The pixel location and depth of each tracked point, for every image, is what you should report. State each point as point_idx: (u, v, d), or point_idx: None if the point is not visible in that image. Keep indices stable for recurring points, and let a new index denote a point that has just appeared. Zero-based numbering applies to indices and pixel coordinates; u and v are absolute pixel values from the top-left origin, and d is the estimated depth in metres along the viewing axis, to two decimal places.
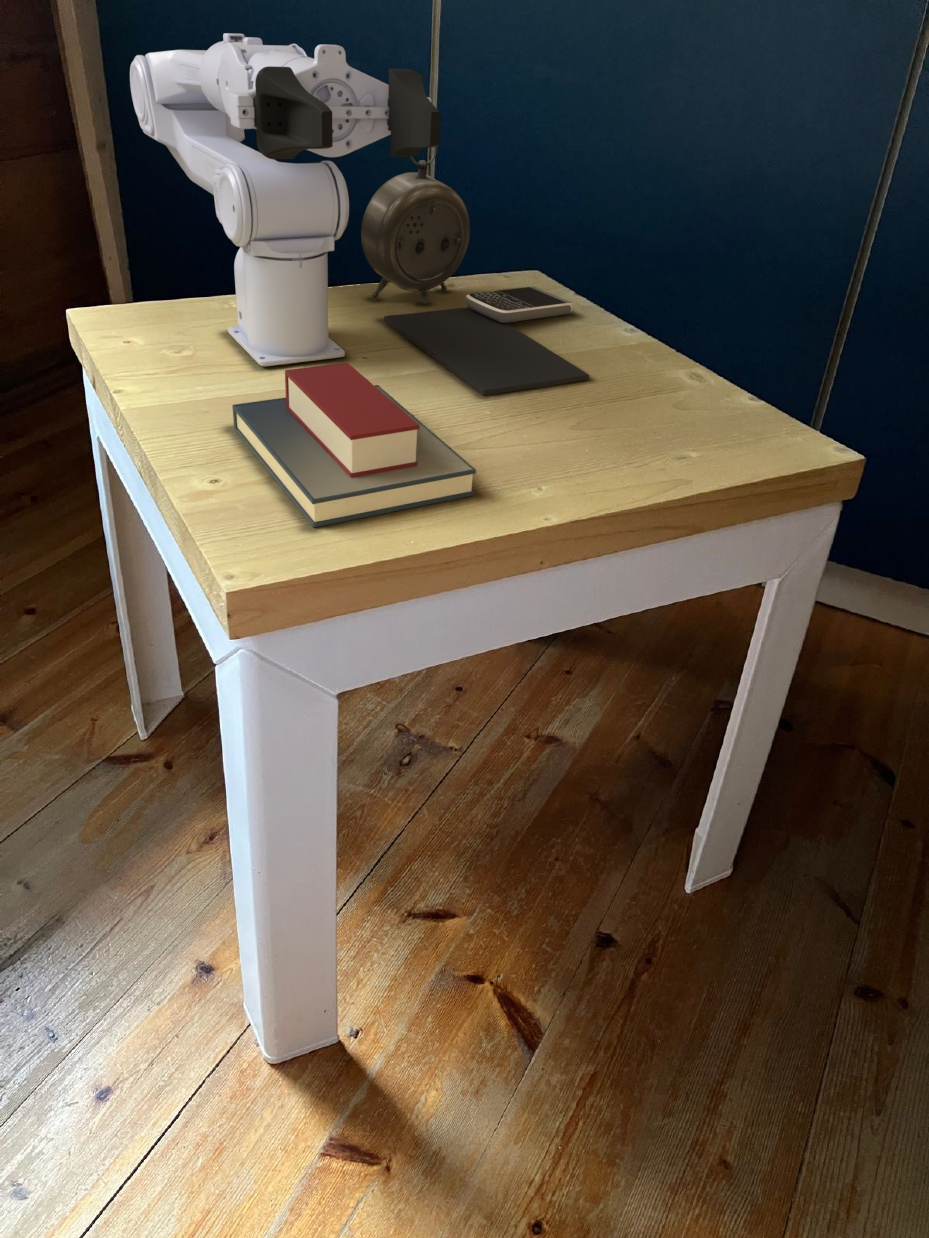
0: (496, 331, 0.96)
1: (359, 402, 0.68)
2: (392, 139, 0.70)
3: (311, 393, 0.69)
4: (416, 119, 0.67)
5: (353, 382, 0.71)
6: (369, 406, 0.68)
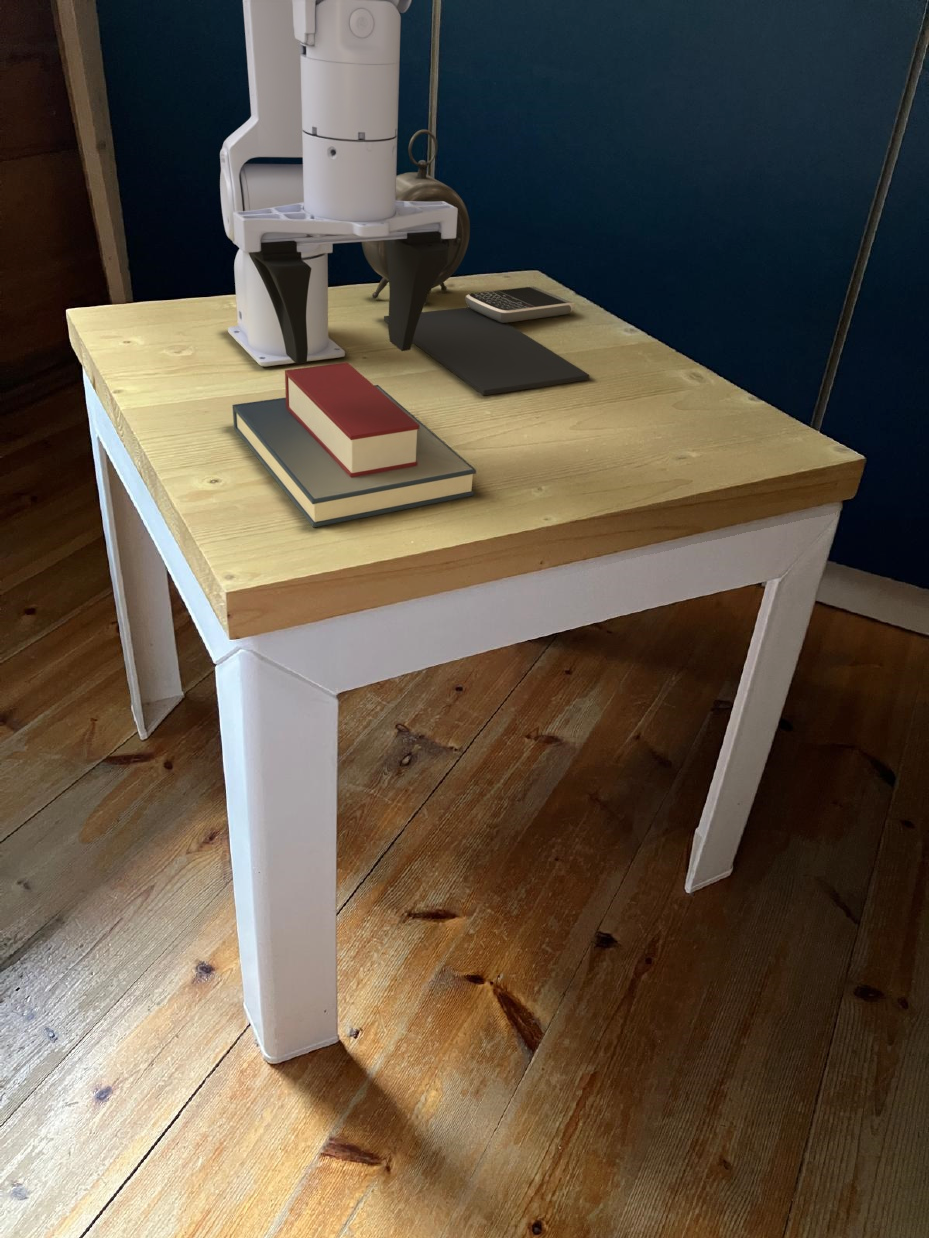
0: (496, 331, 0.96)
1: (359, 402, 0.68)
2: (391, 246, 0.66)
3: (311, 393, 0.69)
4: (400, 314, 0.67)
5: (353, 382, 0.71)
6: (369, 406, 0.68)
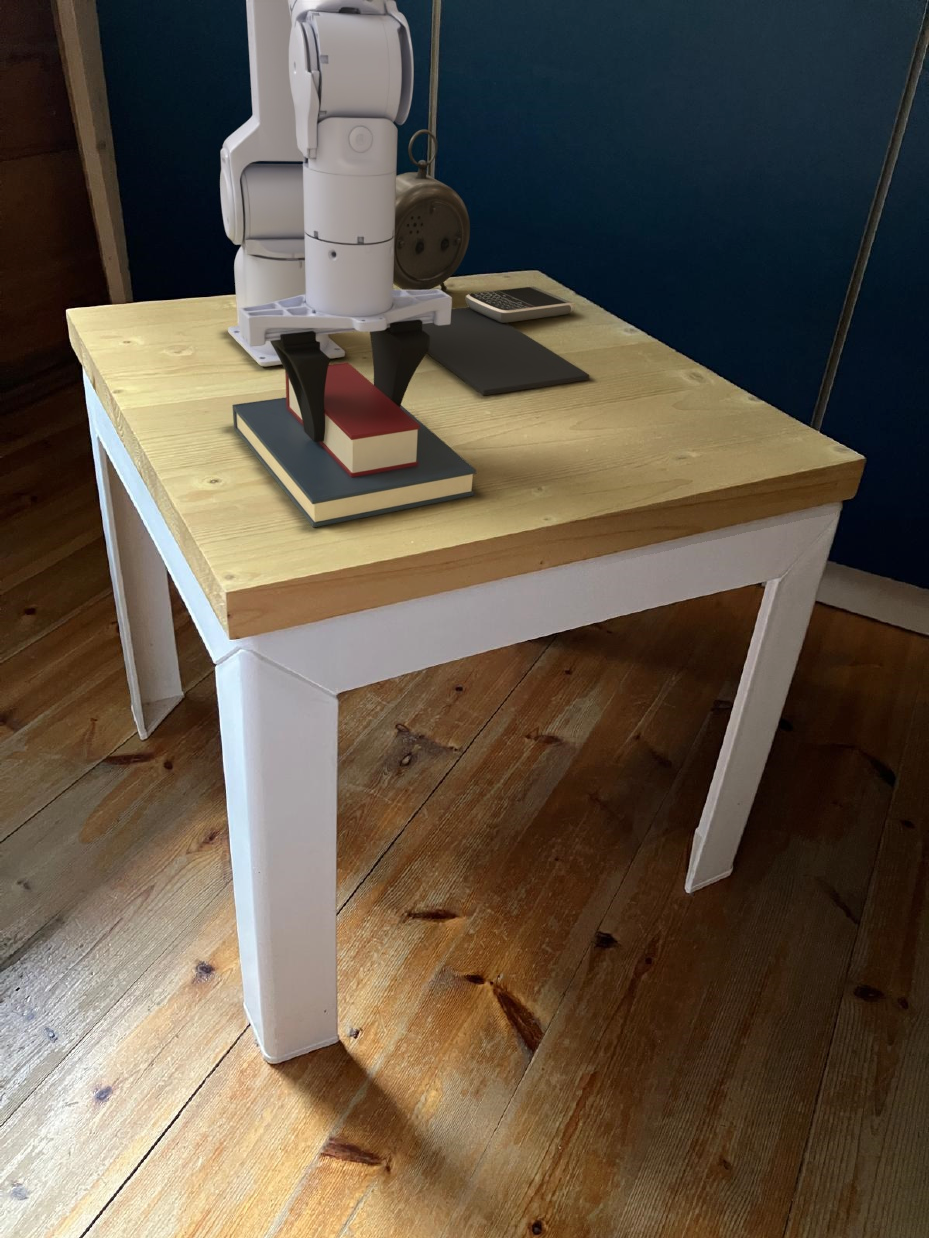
0: (496, 331, 0.96)
1: (359, 402, 0.68)
2: (375, 333, 0.69)
3: None
4: None
5: (353, 382, 0.71)
6: (370, 406, 0.68)
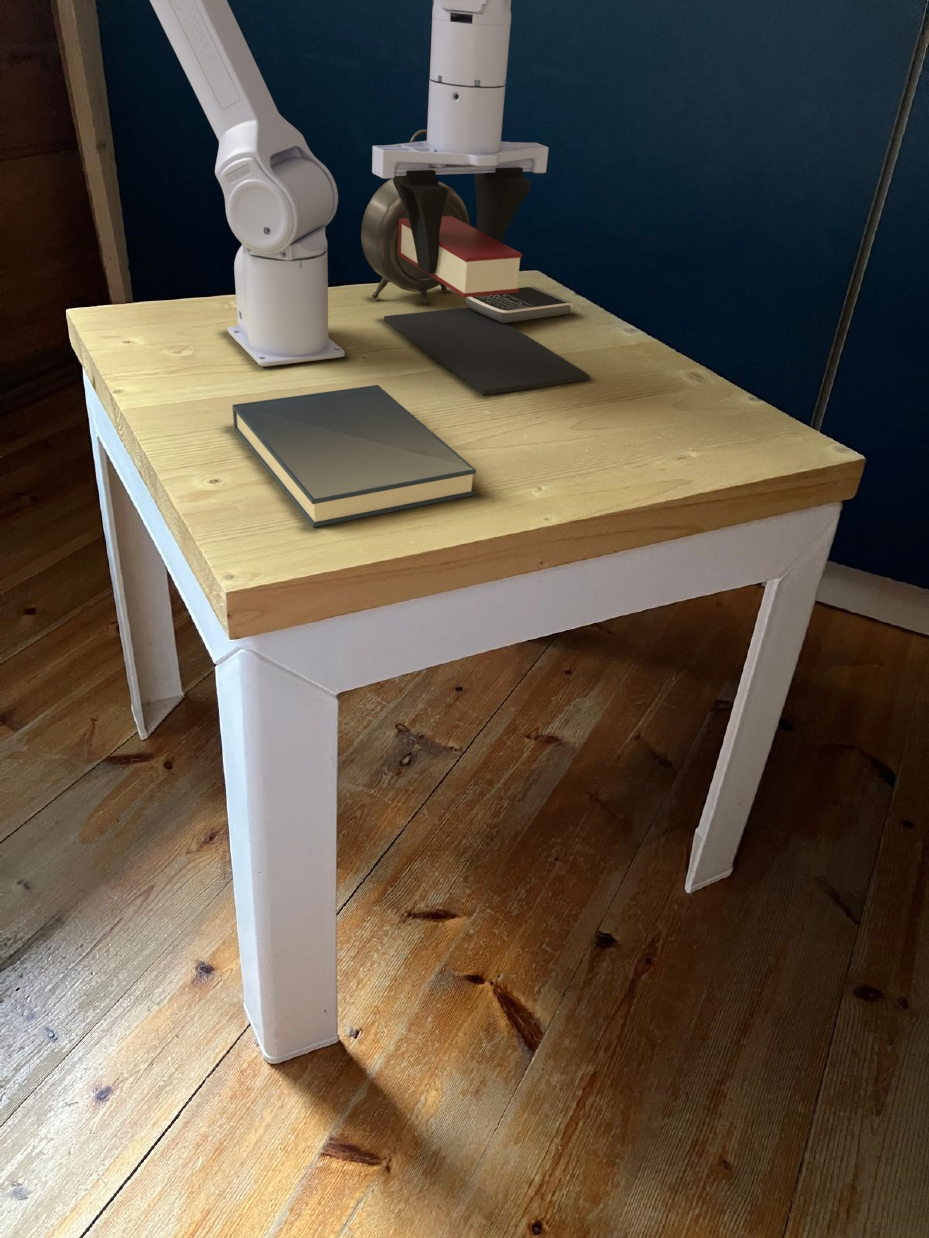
0: (496, 331, 0.96)
1: (468, 239, 0.79)
2: (480, 180, 0.80)
3: None
4: None
5: (459, 228, 0.82)
6: (477, 241, 0.78)
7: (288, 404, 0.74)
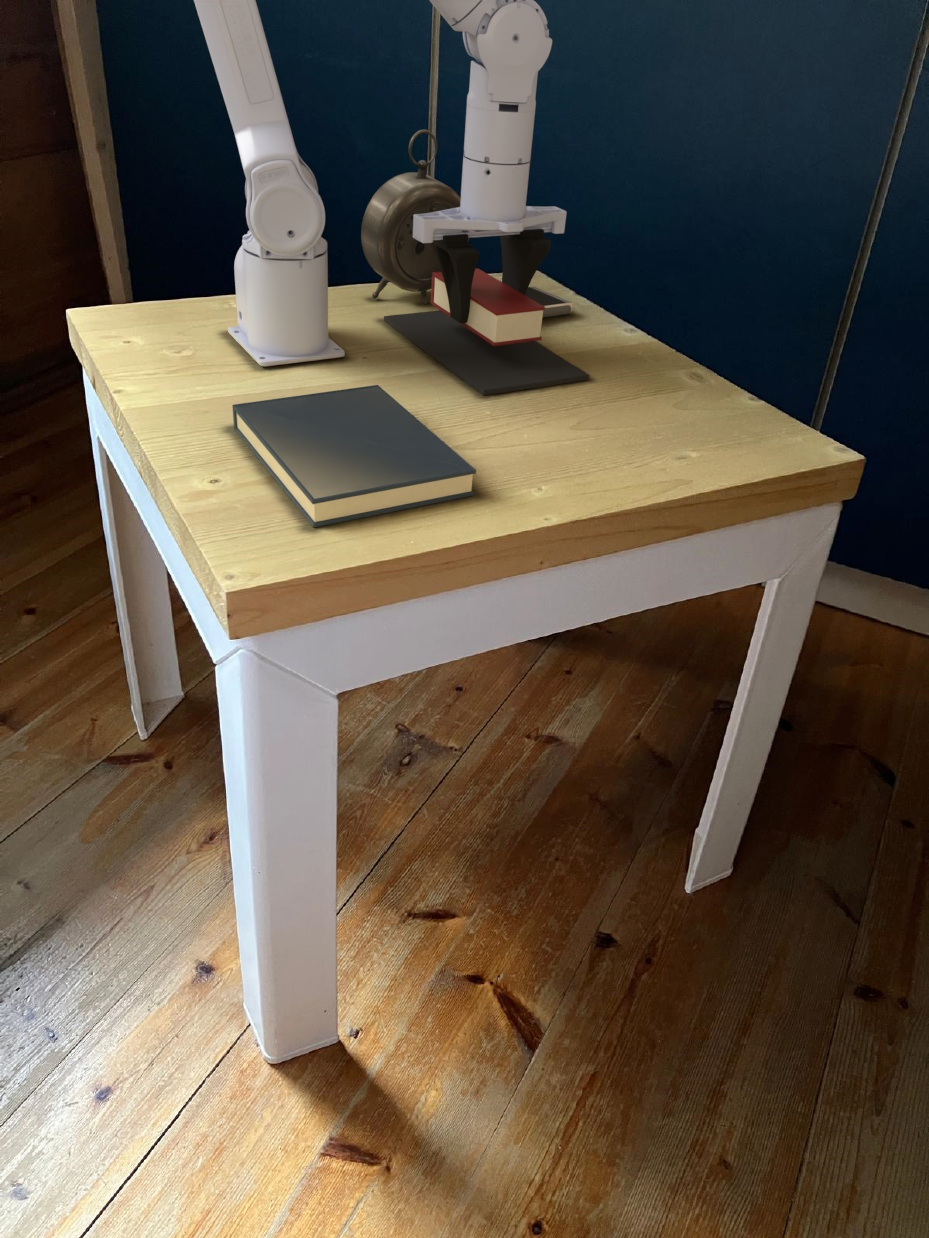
0: None
1: (495, 292, 0.89)
2: (505, 240, 0.90)
3: None
4: None
5: (486, 281, 0.92)
6: (504, 295, 0.88)
7: (288, 404, 0.74)
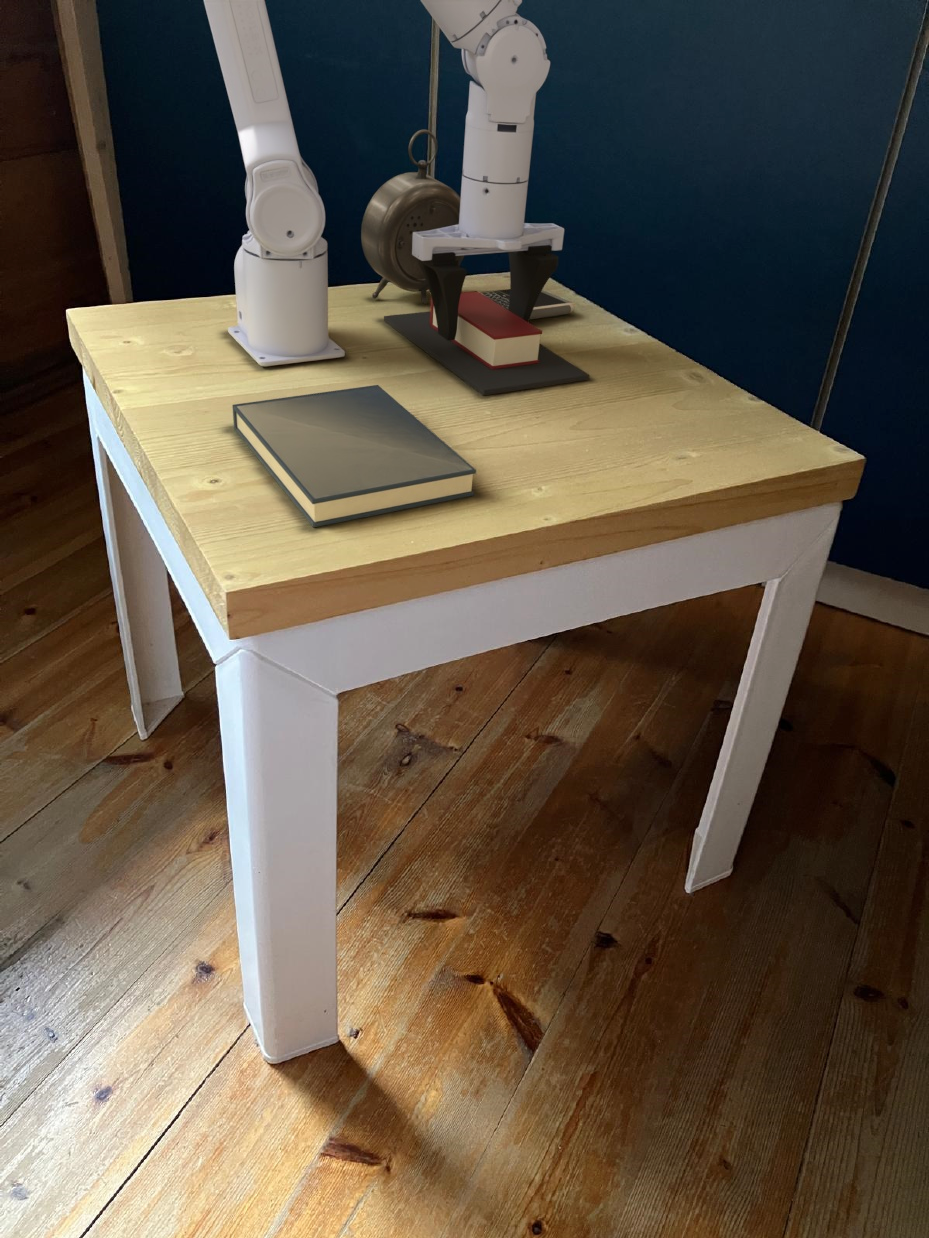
0: None
1: (493, 316, 0.90)
2: (514, 256, 0.91)
3: None
4: (519, 305, 0.92)
5: (485, 304, 0.93)
6: (502, 318, 0.90)
7: (288, 404, 0.74)
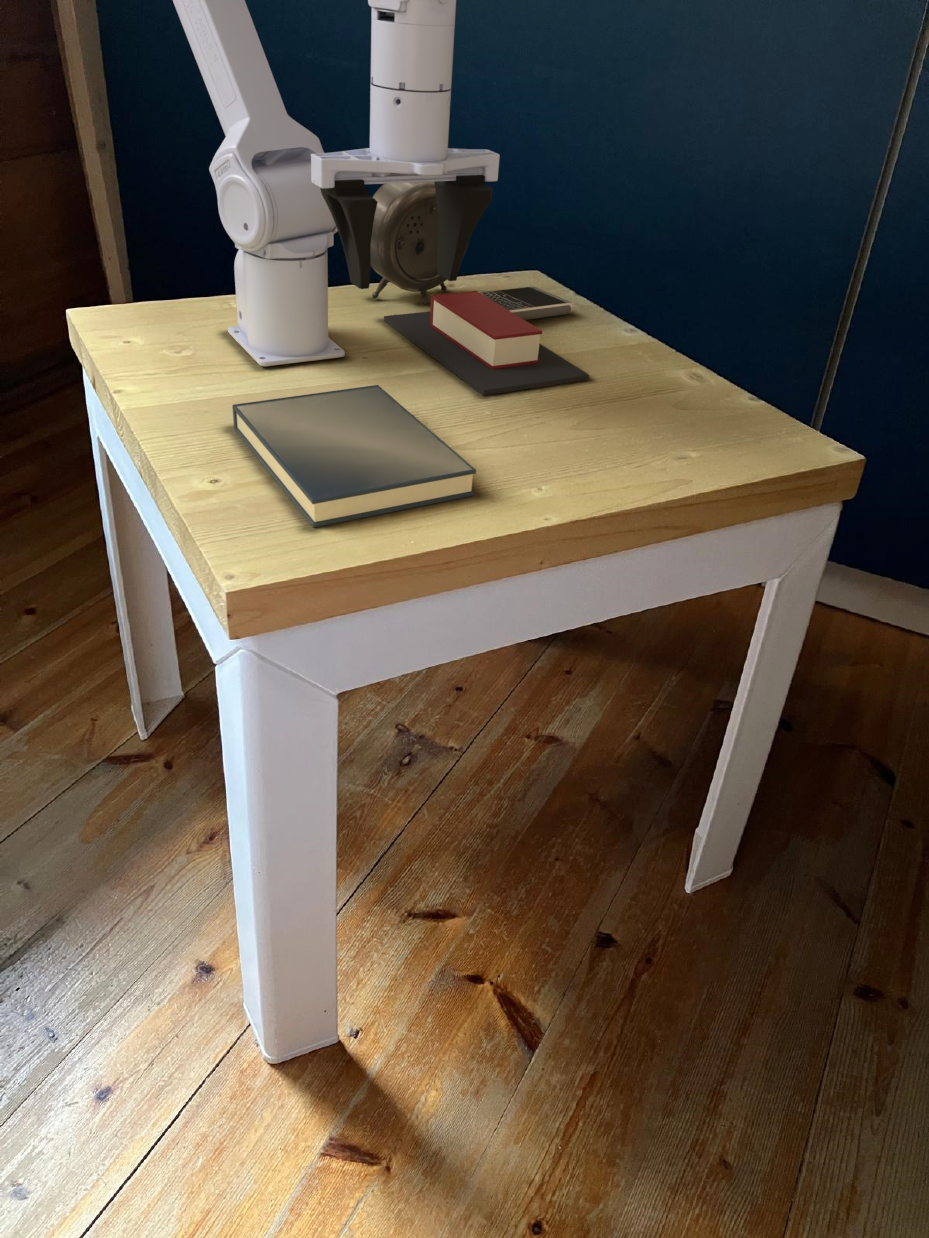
0: None
1: (493, 316, 0.90)
2: (441, 189, 0.76)
3: (456, 309, 0.91)
4: (448, 248, 0.77)
5: (485, 304, 0.93)
6: (502, 318, 0.90)
7: (288, 404, 0.74)
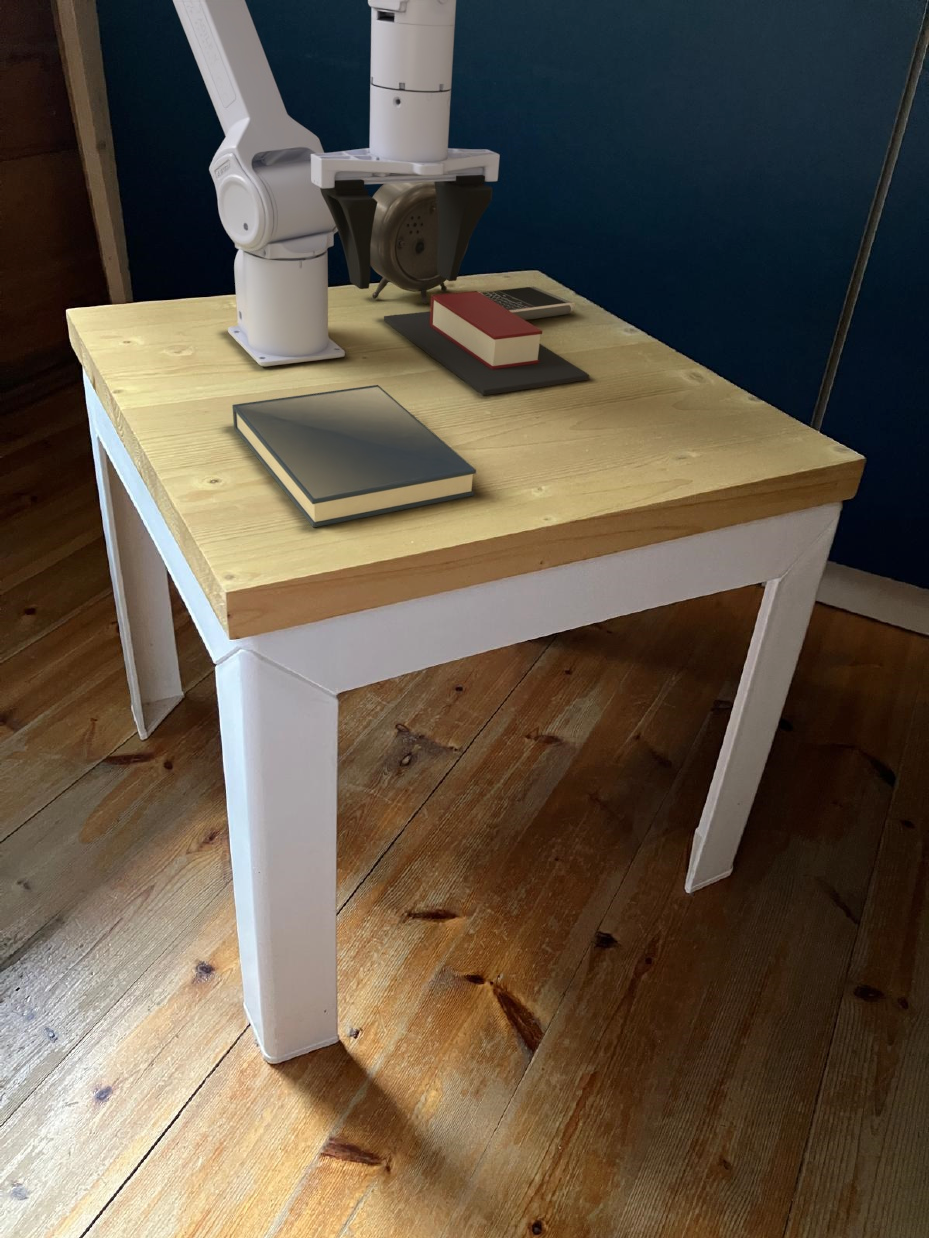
0: None
1: (493, 316, 0.90)
2: (441, 189, 0.76)
3: (456, 309, 0.91)
4: (448, 248, 0.77)
5: (485, 304, 0.93)
6: (502, 318, 0.90)
7: (288, 404, 0.74)
